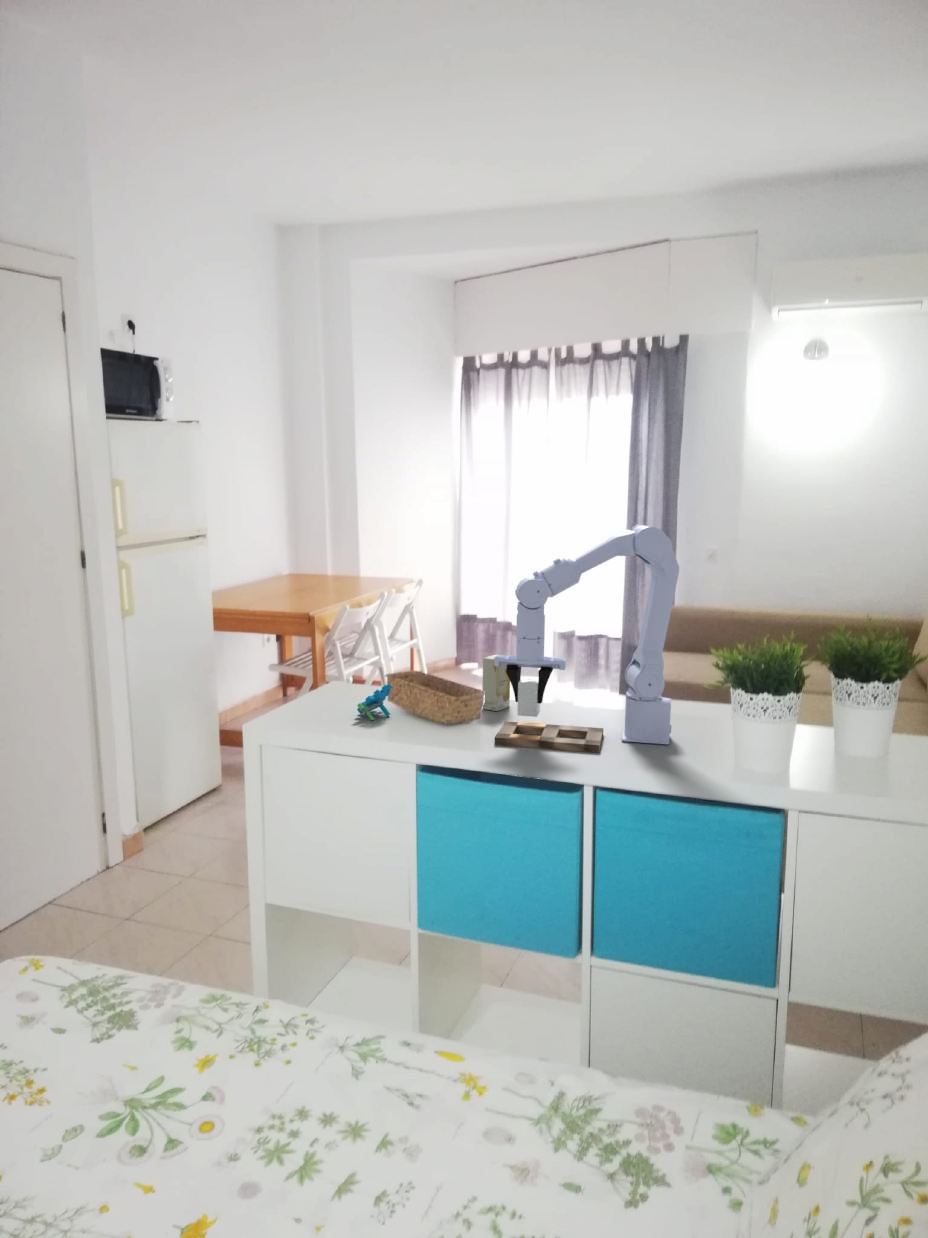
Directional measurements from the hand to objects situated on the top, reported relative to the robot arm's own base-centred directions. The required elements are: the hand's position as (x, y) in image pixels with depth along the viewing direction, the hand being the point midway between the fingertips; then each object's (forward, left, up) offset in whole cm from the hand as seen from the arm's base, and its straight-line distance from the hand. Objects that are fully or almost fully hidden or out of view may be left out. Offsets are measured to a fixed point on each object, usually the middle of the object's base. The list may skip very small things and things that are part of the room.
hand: (529, 701), depth 176 cm
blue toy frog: (+36, -9, -8) cm, 38 cm away
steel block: (0, 0, -2) cm, 3 cm away
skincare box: (+11, -22, -8) cm, 26 cm away
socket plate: (-5, 0, -8) cm, 9 cm away
